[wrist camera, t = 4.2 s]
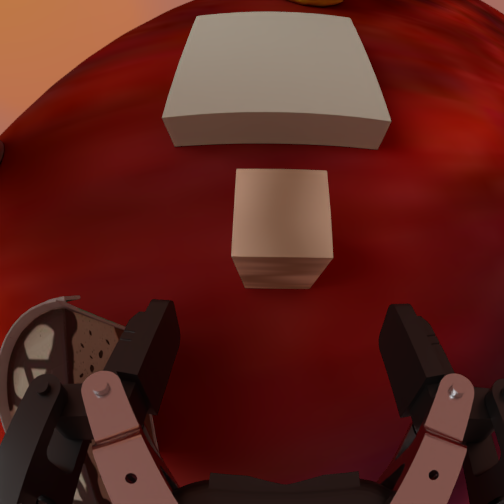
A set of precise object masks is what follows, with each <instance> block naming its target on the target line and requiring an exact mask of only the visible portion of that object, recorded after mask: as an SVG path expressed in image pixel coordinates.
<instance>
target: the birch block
mask: <svg viewBox="0 0 504 504" xmlns="http://www.w3.org/2000/svg"><path fill="white" fill-rule="evenodd" d="M231 257H232V259H233V261H234V264H235V266H236V268H237V271H238V273H239V275H240V278H241V280H242V282H243V284H244V287H245V288H275V289H310V287H311V286H312V285H313V284H314V282H315V281H316V280H317V278H318V277H319V276H320V275H321V273H322V272H323V271H324V269H325V268H326V267H327V265H328V264H329V263H330V261H331V260H332V259H333V244H332V227H331V212H330V199H329V188H328V177H327V171H323V170H298V169H237V170H236V185H235V200H234V217H233V234H232V252H231Z"/></svg>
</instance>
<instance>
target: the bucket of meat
mask: <svg viewBox="0 0 504 504" xmlns="http://www.w3.org/2000/svg"><path fill="white" fill-rule="evenodd" d="M287 1H290V2H294V3H297V4H300V5H308V6H319V7H325V6H331V5H337V4H339V3H341V2H342V1H343V0H287Z"/></svg>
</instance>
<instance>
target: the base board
mask: <svg viewBox="0 0 504 504" xmlns="http://www.w3.org/2000/svg"><path fill="white" fill-rule="evenodd" d="M162 119H163V121H164V124H165V126H166V128H167V130H168V133H169V135H170V137H171V139H172V141H173V144H174V146H175V147H176V146H191V145H210V144H243V143H276V144H310V145H329V146H343V147H356V148H366V149H376V150H378V148H379V146H380V144H381V142H382V140H383V138H384V136H385V134H386V132H387V129H388V127H389V125H390V123H391V119H390V116H389V112H388V109H387V106H386V103H385V100H384V98H383V95H382V92H381V89H380V86H379V84H378V81H377V78H376V76H375V73H374V71H373V68H372V66H371V63H370V61H369V58H368V56H367V54H366V51H365V49H364V47H363V44H362V42H361V40H360V38H359V36H358V34H357V31H356V29H355V27H354V25H353V23H352V21H351V19H350V18H347V17H340V16H332V15H323V14H312V13H296V12H239V13H224V14H212V15H203V16H197V17H196V20H195V22H194V24H193V27H192V29H191V32H190V35H189V37H188V40H187V42H186V45H185V48H184V50H183V53H182V56H181V59H180V62H179V65H178V67H177V70H176V73H175V76H174V79H173V83H172V86H171V89H170V92H169V95H168V99H167V102H166V105H165V109H164V112H163V116H162Z"/></svg>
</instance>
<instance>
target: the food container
mask: <svg viewBox="0 0 504 504" xmlns="http://www.w3.org/2000/svg"><path fill="white" fill-rule="evenodd" d="M77 299H80V296H64V297H59V298H54V299H50V300H48V301H46V302H43V303H41V304H39V305H36V306H34V307H32V308H31V309H29V310H28V311H26V312H25V313H24V314H22V315H21V316H20V317H19V319H18V320H17V321H16V322H15V323H14V324H13V325H12V327H11V329H10V330H9V332H8V333H7V335H6V337H5V340H4V342H3V344H2V347H1V350H0V418H1V422H2V425H3V428H4V431H5V433H6V431H7V429H8V427H9V425H10V422H11V420H12V418H13V416H14V414H15V412H16V410H17V408H18V406H19V404H20V402H21V400H22V398H23V396H24V394H25V392H26V390H27V388H28V387H29V385H30V383H31V382H32V381H33V380H34V379H35V378H36V377H37V376H39V375H42V374H53V375H55V376H56V377H57V378H58V379H59V381H60V382H61V384H78V383H83V382H84V381H85V379H86V378H87V377H88V376H90V375H91V374H93V373H95V372H99V371H103V369H104V367H105V365H106V363H107V361H108V359H109V357H110V356H111V354H112V352H113V350H114V348H115V346H116V344H117V342H118V340H120V337H121V335H122V333H123V332H124V329H125V326H122V325H119V324H117V323H114V322H112V321H109V320H106V319H104V318H101V317H99V316H96V315H94V314H92V313H89V312H87V311H84V310H82V309H80V308H77V307H75V306H73V305H70V304H68V303H66V302H67V301H71V300H77ZM144 423H145V425H146V427H147V429H148V431H149V433H150V436H151V438H152V440H153V442H154V444H155V445H156V447H157V449H158V444H157V439H156V434H155V428H154V423H153V417H152V414H147V415H146V418H145V421H144ZM53 433H54V432H53ZM94 444H95V440H94V439H92V440H91V441H90V445H89V448H88V451H87V454H86V457H85V461H84V464H83V467H82V471H81V474H80V478H79V481H78V485H77V488H76V492H75V496H74V500H73V504H112V502H111V500H110V497H109V495H108V493H107V490H106V488H105V485H104V483H103V480H102V478H101V475H100V472H99V470H98V467H97V464H96V461H95V458H94V455H93V452H92V445H94ZM158 451H159V449H158Z"/></svg>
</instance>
